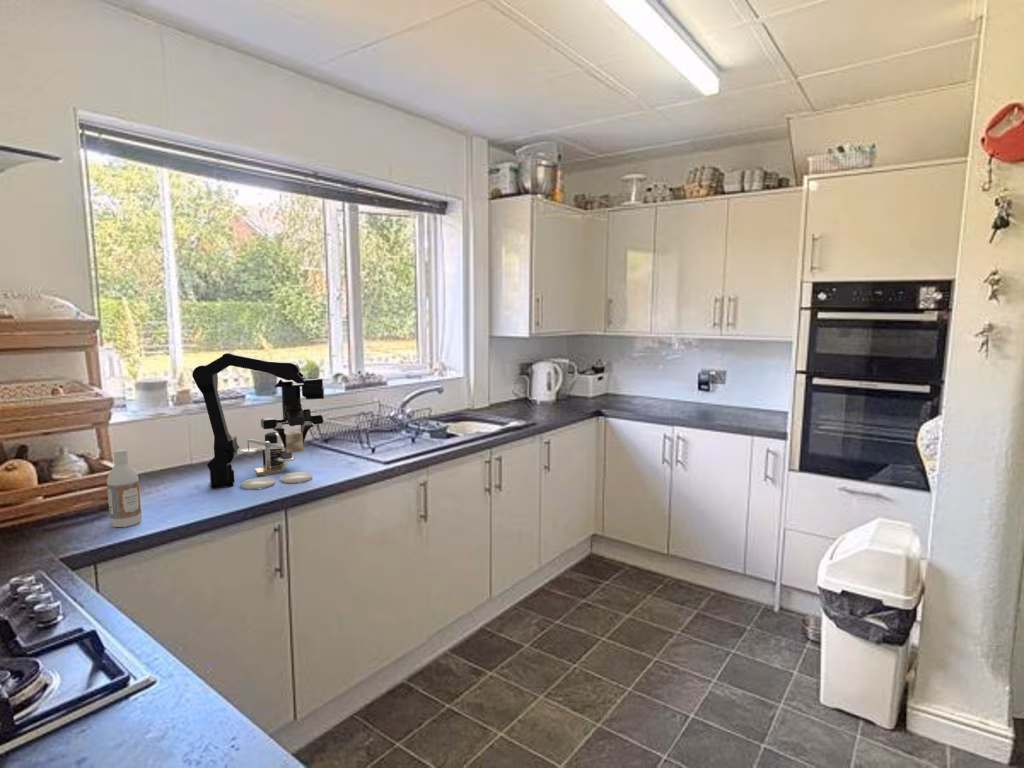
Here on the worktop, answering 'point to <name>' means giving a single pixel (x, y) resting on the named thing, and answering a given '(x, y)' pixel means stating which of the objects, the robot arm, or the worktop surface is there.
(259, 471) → the balance
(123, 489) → the bath foam
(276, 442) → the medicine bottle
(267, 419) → the robot arm
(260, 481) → the dish left
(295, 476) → the dish right
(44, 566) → the worktop surface
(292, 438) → the beech block
